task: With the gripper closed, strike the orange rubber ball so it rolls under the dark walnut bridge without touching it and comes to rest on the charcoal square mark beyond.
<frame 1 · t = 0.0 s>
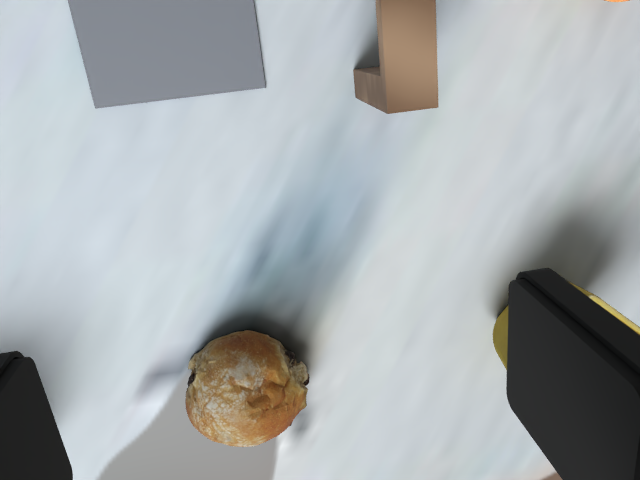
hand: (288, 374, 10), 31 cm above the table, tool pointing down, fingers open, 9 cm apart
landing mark: (164, 6, 36), on the table
flower pot: (530, 309, 48), on the table
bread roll: (248, 373, 47), on the table
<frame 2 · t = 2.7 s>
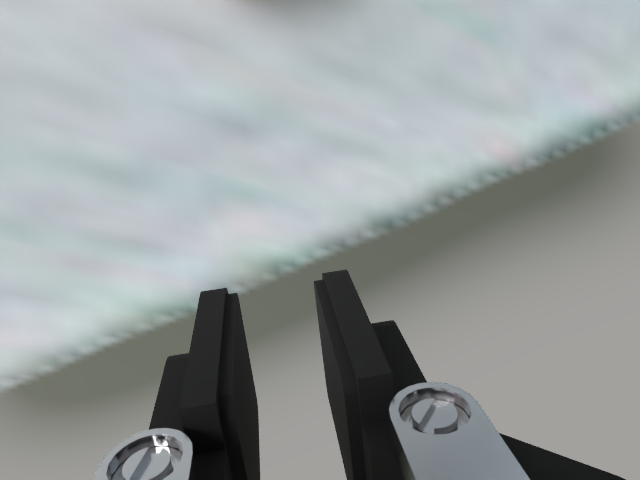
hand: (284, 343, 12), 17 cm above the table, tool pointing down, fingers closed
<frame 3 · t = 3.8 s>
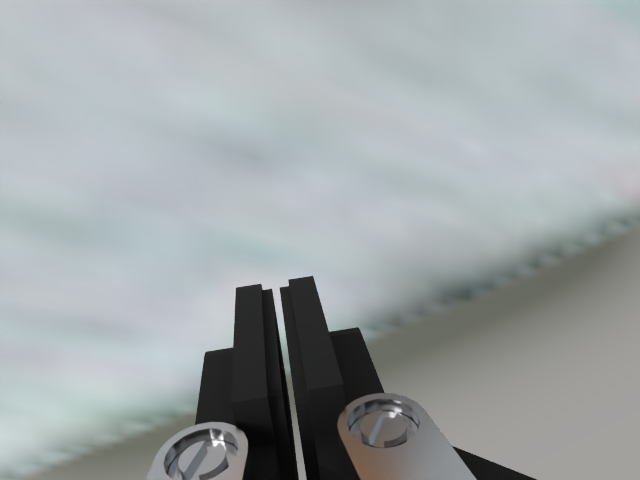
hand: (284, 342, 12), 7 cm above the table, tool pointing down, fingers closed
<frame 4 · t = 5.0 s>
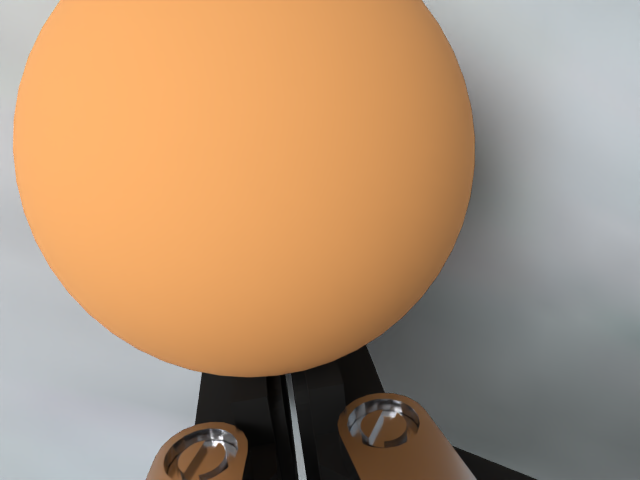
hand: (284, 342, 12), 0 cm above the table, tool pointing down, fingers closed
ball: (255, 159, 8), on the table, touching gripper
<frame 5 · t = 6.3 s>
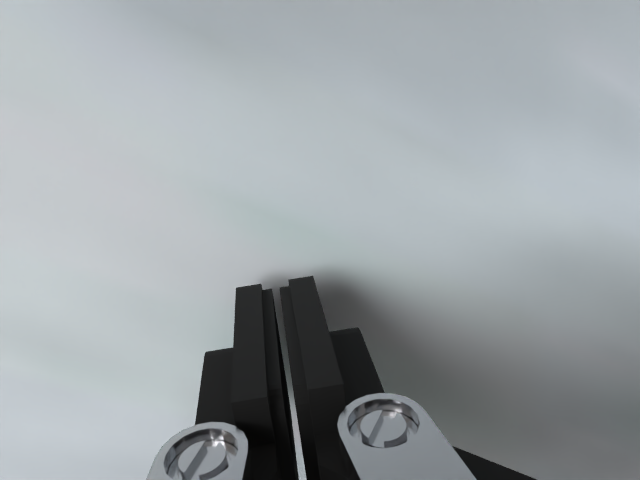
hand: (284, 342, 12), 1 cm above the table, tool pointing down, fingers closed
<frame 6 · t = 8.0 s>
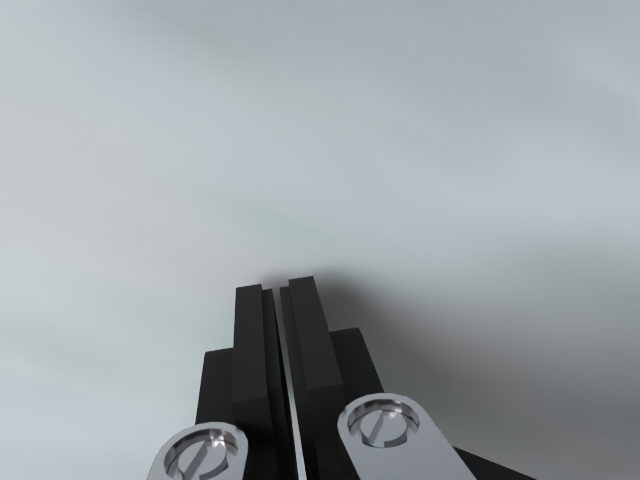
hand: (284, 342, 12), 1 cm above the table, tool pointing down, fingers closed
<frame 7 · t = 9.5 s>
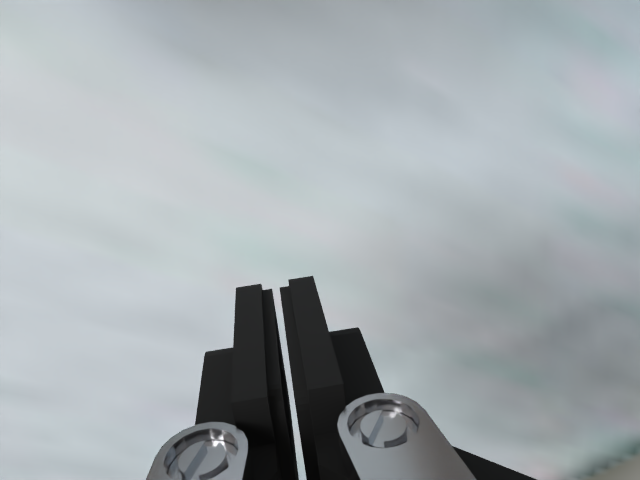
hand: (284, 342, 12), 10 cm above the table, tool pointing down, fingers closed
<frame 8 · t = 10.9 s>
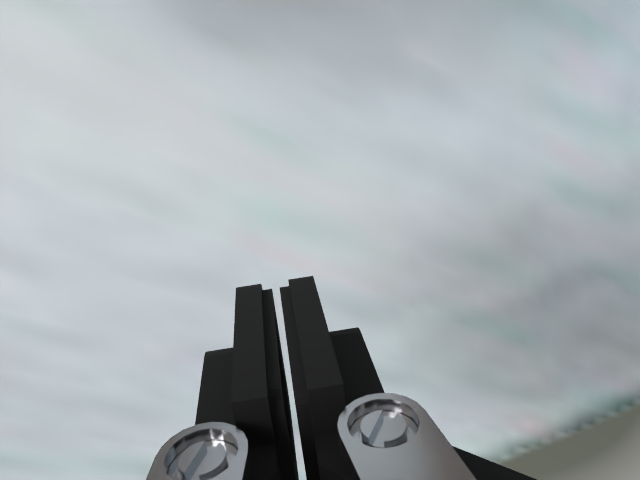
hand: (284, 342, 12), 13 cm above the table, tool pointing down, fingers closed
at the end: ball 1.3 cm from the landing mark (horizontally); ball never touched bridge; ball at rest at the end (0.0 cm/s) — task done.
